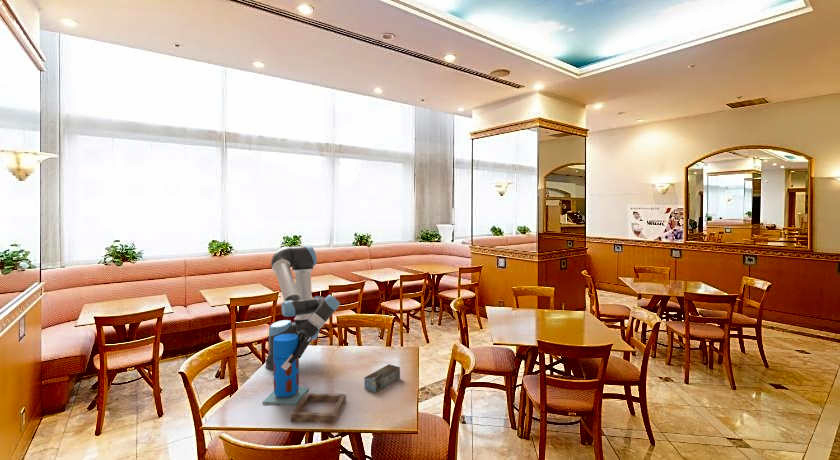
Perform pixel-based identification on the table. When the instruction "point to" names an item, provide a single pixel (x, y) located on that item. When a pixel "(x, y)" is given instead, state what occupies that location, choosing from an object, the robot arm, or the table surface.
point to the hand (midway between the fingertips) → (279, 364)
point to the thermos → (282, 350)
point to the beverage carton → (382, 378)
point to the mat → (286, 398)
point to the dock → (318, 417)
